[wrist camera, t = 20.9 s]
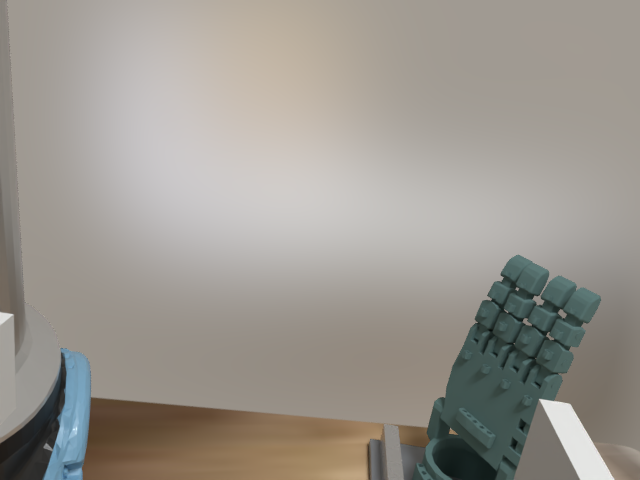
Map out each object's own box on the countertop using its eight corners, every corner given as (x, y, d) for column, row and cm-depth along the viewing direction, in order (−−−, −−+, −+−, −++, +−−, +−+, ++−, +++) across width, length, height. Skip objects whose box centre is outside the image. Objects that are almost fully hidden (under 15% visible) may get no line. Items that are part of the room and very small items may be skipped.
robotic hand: (537, 604, 49) (693, 339, 46) (437, 581, 45) (598, 293, 42) (457, 492, 62) (573, 281, 59) (374, 468, 58) (493, 242, 55)
